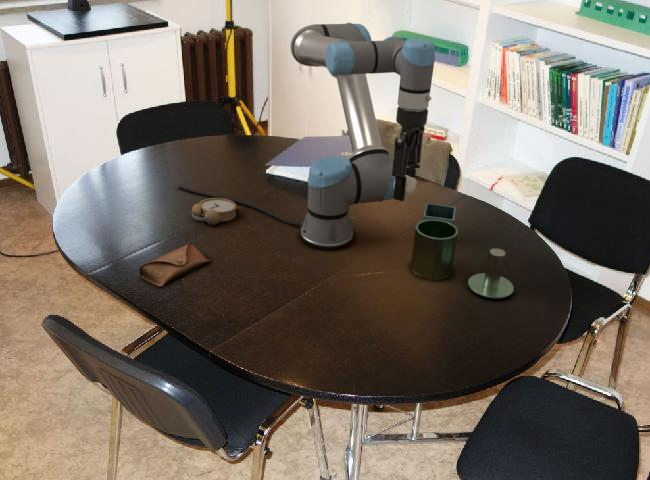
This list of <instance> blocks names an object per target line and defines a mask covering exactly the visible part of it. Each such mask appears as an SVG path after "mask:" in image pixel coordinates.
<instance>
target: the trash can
mask: <svg viewBox="0 0 650 480" xmlns="http://www.w3.org/2000/svg"><path fill="white" fill-rule="evenodd" d="M413 236H414V237H413V244H412V252H411V260H410V270H411V272H412V274H414V275H415V276H417V277H418V278H421V279H424V280H427V281H442V280H445V279H447V278H449V277H450V276H451V274H452V271H453V265H454V259H455V254H456V247H457V242H458V236H459V230H458V227H457V226H456V225H454V223H453V224H451V223H449V222H446V221H443V220H436V219H429V220H424V219H423V220H421V221H419V222H417V223H416V224H415V230H414V235H413Z"/></svg>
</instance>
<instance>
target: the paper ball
mask: <svg viewBox="0 0 650 480" xmlns="http://www.w3.org/2000/svg"><path fill="white" fill-rule="evenodd" d="M405 176H406V177H407V178H406V187H405V197H404V200H409V196H411V195H412V194H413V193H414V192H415V190H416V185H417V183H418V182H417V181H418V180H417V179H416V177H415V178H413V177H410V176H408V175H405ZM394 187H395V182H394Z"/></svg>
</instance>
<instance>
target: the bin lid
mask: <svg viewBox="0 0 650 480" xmlns="http://www.w3.org/2000/svg"><path fill="white" fill-rule="evenodd" d="M505 259H506V251H505V250H503V249H501V248H491V249H489V253H488V259H487V262H486V268H485V272H483V273H482V272H481V273H476V274H474V275H471V276H470V277H469V278H468V280H467V287H468V289H469V290H470V291H471V292H472V293H474V294H475V295H477V296H479V297H481V298H484V299H490V300H503V299H507V298H510V297H511V296H512V295H513V293H514V290H515V288H514V284H513V283H512V282H511V281H510V280H509V279H508V278H505V277H504V276H502V272H503V266H504V262H505Z"/></svg>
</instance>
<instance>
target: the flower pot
mask: <svg viewBox="0 0 650 480" xmlns="http://www.w3.org/2000/svg"><path fill="white" fill-rule="evenodd" d="M456 210H457V208H456V207H455V206H449V205H443V204H437V203H429V202H428V203H426V204H425V207H424V213H423V220H429V219H436V220H443V221H446V222H449V223H451V224H453V225H454V223H455V222H454V221H455V216H456V212H457V211H456Z"/></svg>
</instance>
